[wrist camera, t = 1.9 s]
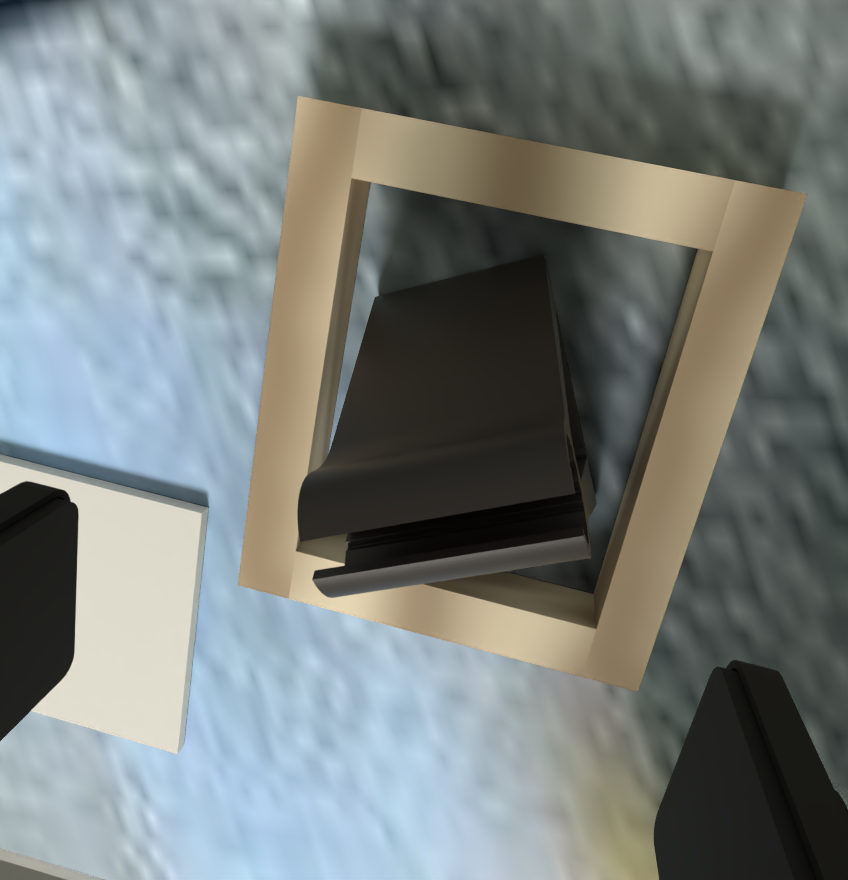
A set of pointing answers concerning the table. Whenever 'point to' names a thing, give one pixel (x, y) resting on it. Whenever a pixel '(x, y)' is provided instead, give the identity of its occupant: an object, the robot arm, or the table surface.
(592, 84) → the table surface
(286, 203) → the wooden frame
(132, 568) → the cream mat
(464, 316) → the phone stand
